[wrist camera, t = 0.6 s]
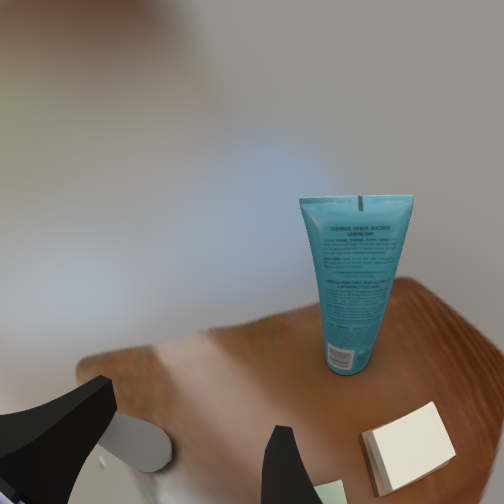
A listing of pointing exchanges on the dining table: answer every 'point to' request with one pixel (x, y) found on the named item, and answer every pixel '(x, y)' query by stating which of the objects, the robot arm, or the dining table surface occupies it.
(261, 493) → the robot arm
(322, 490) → the sage cube
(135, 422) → the salt shaker
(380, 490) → the walnut slab
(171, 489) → the dining table surface
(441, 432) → the cream slab
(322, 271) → the tube
